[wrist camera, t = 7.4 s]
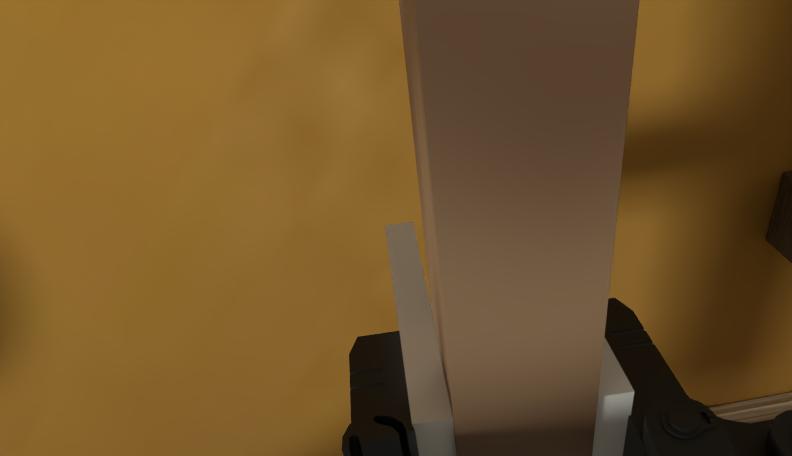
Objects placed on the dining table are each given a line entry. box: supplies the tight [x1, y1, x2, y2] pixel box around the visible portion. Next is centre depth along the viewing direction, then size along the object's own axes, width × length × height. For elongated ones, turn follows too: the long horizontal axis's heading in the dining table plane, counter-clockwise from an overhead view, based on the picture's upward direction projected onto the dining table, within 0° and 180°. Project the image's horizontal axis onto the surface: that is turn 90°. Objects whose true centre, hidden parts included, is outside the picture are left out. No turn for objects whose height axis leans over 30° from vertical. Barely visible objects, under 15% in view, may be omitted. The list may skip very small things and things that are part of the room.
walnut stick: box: [399, 0, 639, 456], centre depth 12 cm, size 24×2×2 cm, turn 7°
